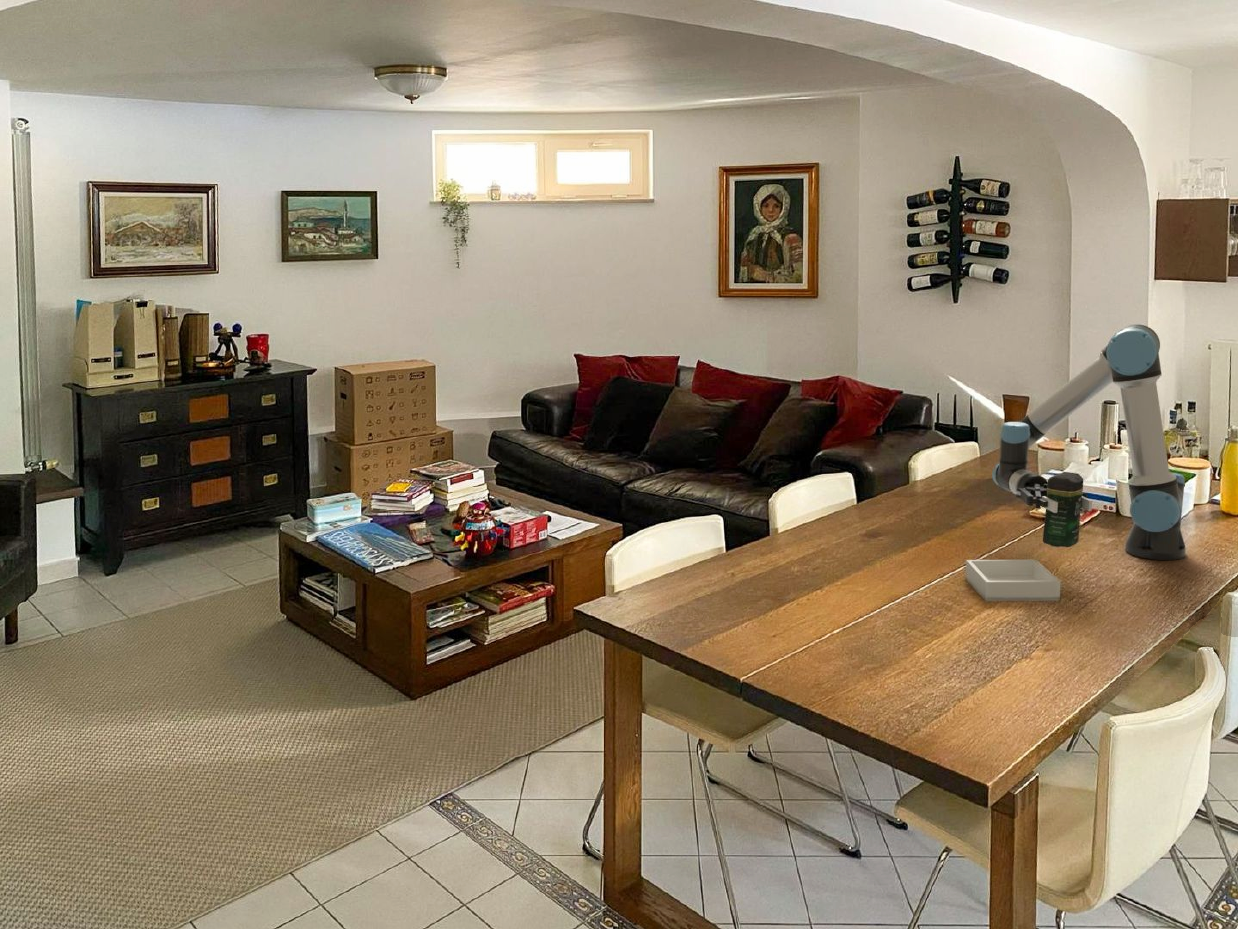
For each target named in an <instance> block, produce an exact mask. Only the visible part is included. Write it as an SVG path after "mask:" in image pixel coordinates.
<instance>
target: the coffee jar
mask: <svg viewBox="0 0 1238 929" xmlns="http://www.w3.org/2000/svg"><path fill="white" fill-rule="evenodd" d="M1047 482H1048V484H1047V497H1048V498H1050V499H1052V500H1054V501H1056V502H1058V508H1057V513H1054V512H1052V511H1050V510H1047V509H1045V516H1044V523H1043V525H1044V526H1043V532H1042V533H1043V534H1042V542H1043V543H1044V544H1045V545H1049V546H1050V547H1054V548H1055V547H1056V548H1060V547H1061V548H1071V547H1074V545H1076V544H1077V543H1079V539H1080V538H1079V537H1080V519H1081V510H1082V508H1081V499H1082V492H1083V490H1084V478H1083V477H1082V476H1081V475H1080V474H1079V473H1077V472H1069V471H1068V472H1067V471H1063V472H1061V473H1058V474H1055V475H1053V476H1051V477H1049V478H1048V479H1047Z"/></svg>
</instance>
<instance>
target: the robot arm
mask: <svg viewBox="0 0 1238 929" xmlns="http://www.w3.org/2000/svg"><path fill="white" fill-rule="evenodd" d="M1160 350H1161V341H1160V338H1159V336H1158V333H1156V331H1155V330H1153V329H1152V328H1151V327H1150V326H1147V325H1144V324H1139V323H1138V324H1132V325H1131V324H1130V325H1127V326H1125V327H1123V328H1122V329H1120V330H1119V331H1118V332H1116V333H1115V334H1114V335H1113V336H1112V337H1111V338H1110V340H1109V341H1108V344H1107V345H1106V346H1105V347H1104V348H1102V349H1101V350H1100V351H1099V356H1098V357H1097V358H1096V359H1095V360H1093V361H1092V362H1091V363H1090V364H1088V365H1087V366H1086V367H1085V368H1083V370H1081V371H1080V372H1079V373H1078V374H1076V375H1075V376H1073V378H1071V380H1069V381H1067V382H1066V383H1065V384H1064V385H1062V386H1061V387H1060V388H1059V389H1058V390H1056V391H1055V392H1054V393H1053V394H1051V395H1050V396H1049V397H1047V399H1045V400H1044V401H1042V402H1041V403H1040V404H1039V405H1037V407H1035V408H1034V409H1033V410H1032V411H1030V412H1029V413H1028V414H1027V415H1025V416H1024V417H1023V418H1022V419H1021V420H1019V421H1008V422H1004V423H1002V425H1001V432H1000V434H999V436H1000V443H999V444H1000V446H999V461H998V463H997V464H996V465H995V467H994V469H993V470H992V473H991V476H992V480H993V482H994V483H995V484H996V485H997V486H999V487H1000V488H1001V489H1002V490H1005V491H1007V492H1009V493H1011V494H1014V495H1015V497H1016V498H1018V499H1020V500H1021V501H1023V502H1024V503H1025V504H1026V505H1027V506H1029V507H1032V506H1034V505H1035V509H1036V510H1039V509H1041V507H1042V508H1043V509H1045V510H1046V509H1047V510H1050V511H1052V512H1054V513H1057V508H1058V502H1056V501H1054V500H1052V499H1050V498H1048V497H1047V484H1048V479H1046V478H1045V477H1043V476H1042V475H1039V474H1037V473H1035V472H1033V471H1031V470H1028V458H1029V450H1030V448H1031V447H1032V446H1033V445H1034V444H1036V442H1038V441H1039V440H1040V439H1042V438H1043V437H1044V436H1045V435H1046V434H1048V433H1049V432H1050V431H1052V430H1053V429H1054V428H1055V427H1057V426H1058V425H1060V424H1061V423H1063V422H1064V420H1066V419H1067V418H1069V417H1070V416H1071V415H1072V414H1073V413H1074V412H1076V411H1077V410H1078V409H1080V408H1081V407H1083V406H1084V405H1085V404H1086V403H1087V402H1089V401H1091V400H1092V399H1093V398H1094V397H1095V396H1096V395H1098V394H1099V393H1100V392H1102V391H1103V390H1104V389H1105V388H1107V387H1108V386H1110V385H1111V384H1112V383H1113V384H1115V385H1116V386H1118V387H1119V388H1120V395H1121V396H1120V397H1121V401H1122V406H1123V415H1124V421H1125V429H1126V434H1127V435H1126V436H1127V442H1128V450H1129V454H1130V461H1131V468H1132V474H1133V475H1132V476H1131V477H1130V478H1129V480H1128V481H1127V484H1128V490H1129V491H1128V492H1129V498H1130V507H1129V514H1130V517H1131V519H1132V521H1133V524H1132V526H1131V529H1130V530H1129V534H1128V536H1127V538H1126V540H1125V544H1124V551H1125V552H1126V553H1128V554H1130V555H1132V556H1134V557H1138V558H1143V559H1149V560H1158V561H1176V560H1181V559H1183V558H1185V556H1186V549H1187V548H1186V543H1185V540H1184V537H1183V533H1182V529H1181V527H1182V526H1181V524H1182V522H1181V521H1182V513H1183V505H1184V504H1183V503H1184V495H1185V494H1184V493H1185V492H1184V491H1185V487H1186V483H1185V476H1184V475H1183V474H1180V473H1175V472H1171V471H1170V468H1169V462H1168V454H1167V447H1166V441H1165V434H1164V427H1163V421H1162V414H1161V413H1162V412H1161V406H1160V405H1161V404H1160V400H1159V392H1158V387H1157V386H1158V385H1157V382H1158V381H1159V379H1160V378H1161V377H1162V376H1163V375H1162V367H1161V361H1160V355H1159V354H1160V353H1159V352H1160ZM1087 494H1088V493H1087V492H1085V491H1084V492H1082V499H1081V509H1083V510H1085V511H1088V512H1092V510H1093V508H1092V507H1093V500H1092V499H1089V498H1087V497H1088V496H1087Z"/></svg>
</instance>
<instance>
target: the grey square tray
mask: <svg viewBox="0 0 1238 929" xmlns="http://www.w3.org/2000/svg"><path fill="white" fill-rule="evenodd" d="M964 576H965V580H966V581H967V582H968V584H969V585H970V586H971V587H972V588H973V589H974V590H975V591H976V592H977V594H978V595H979V596H980V595H981V596H980V597H981V598H982V600H984V601H985V602H1059V601H1061V600H1060V599H1061V598H1060V597H1061V583H1062V582H1061V580H1060V579H1059V578H1058V577H1057V576H1055V574H1053V572H1051V571H1049V570H1048V569H1047V568H1046V567H1045V565H1043V564H1042V563H1041V562H1039V561H1038V560H1037V559H966V560H965V575H964Z"/></svg>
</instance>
